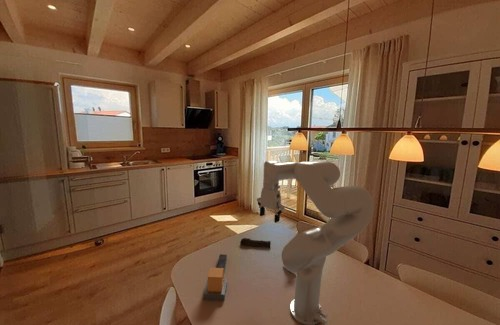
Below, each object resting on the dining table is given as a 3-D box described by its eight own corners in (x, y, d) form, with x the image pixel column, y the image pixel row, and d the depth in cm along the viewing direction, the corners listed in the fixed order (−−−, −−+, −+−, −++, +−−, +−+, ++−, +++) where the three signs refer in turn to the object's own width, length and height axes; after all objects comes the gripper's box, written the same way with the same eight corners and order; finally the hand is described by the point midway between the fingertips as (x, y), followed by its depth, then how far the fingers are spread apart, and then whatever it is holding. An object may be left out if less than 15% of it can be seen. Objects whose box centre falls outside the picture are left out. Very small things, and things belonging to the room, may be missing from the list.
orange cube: (223, 281, 98) (223, 268, 96) (221, 291, 92) (221, 277, 91) (210, 281, 98) (210, 267, 97) (207, 291, 92) (207, 276, 91)
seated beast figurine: (297, 276, 107) (298, 254, 105) (280, 271, 110) (281, 250, 108) (300, 265, 116) (301, 245, 114) (284, 260, 119) (286, 241, 117)
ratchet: (224, 300, 91) (224, 288, 90) (203, 299, 91) (203, 287, 90) (231, 258, 119) (231, 249, 118) (215, 258, 120) (215, 248, 118)
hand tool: (270, 245, 134) (270, 238, 133) (270, 249, 130) (270, 242, 129) (241, 242, 137) (241, 236, 136) (239, 246, 133) (240, 239, 132)
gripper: (289, 188, 100) (287, 222, 103) (263, 181, 113) (261, 211, 116) (280, 191, 95) (278, 227, 98) (253, 183, 107) (251, 215, 110)
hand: (269, 218), depth 107 cm, fingers open, 9 cm apart
